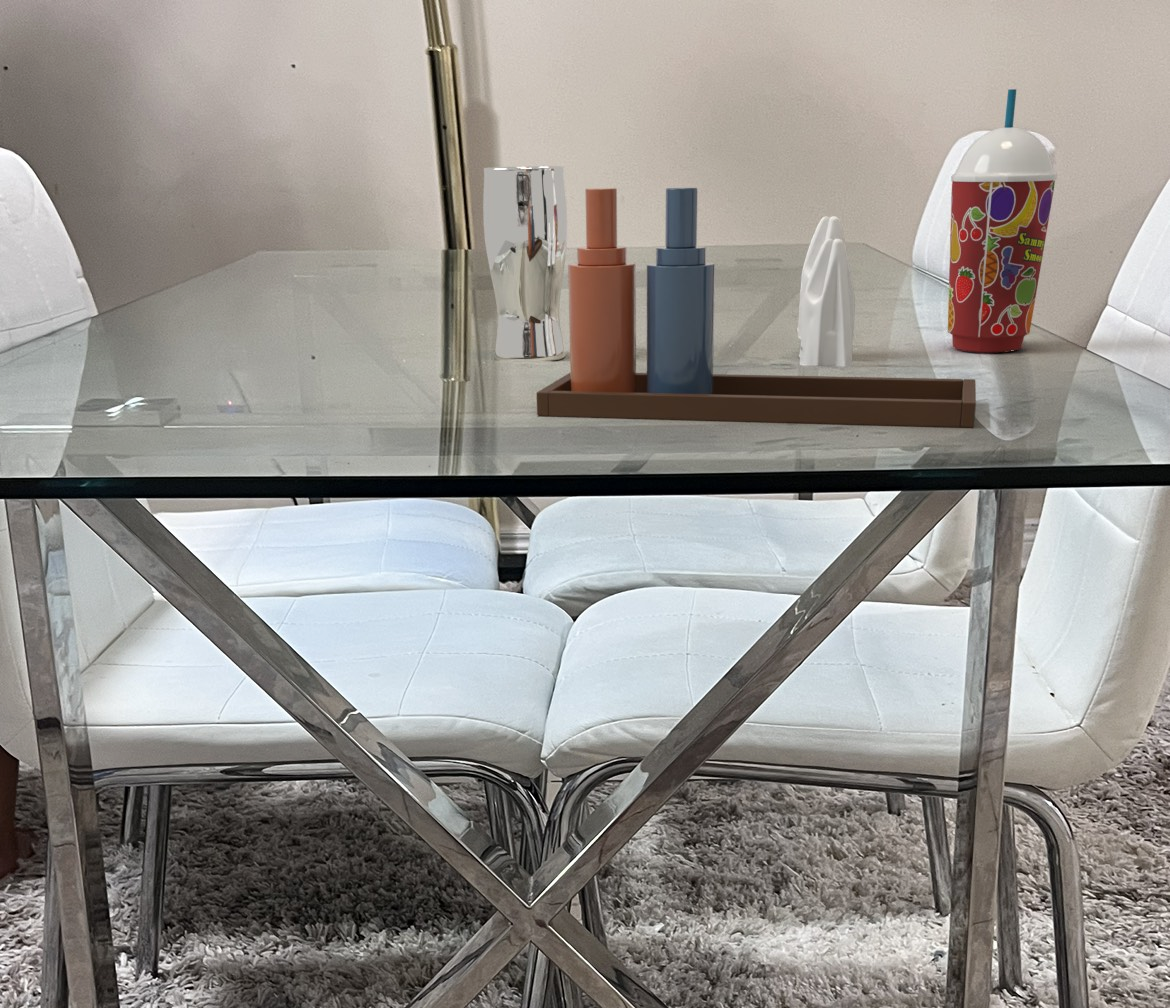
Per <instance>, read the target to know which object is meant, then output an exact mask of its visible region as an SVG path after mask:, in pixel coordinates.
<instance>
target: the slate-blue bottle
mask: <svg viewBox="0 0 1170 1008" xmlns="http://www.w3.org/2000/svg"><path fill="white" fill-rule="evenodd" d="M698 191H699V188H698V187H697V186H675V187H674V186H673V187H672V186H671V187H666V188H665V235H664V236H665V242H664V246H663V245H662V246H657V247H656V248H655V261H654V262H649V263H647V264H646V373H647V393H673V394H713V374H714V355H715V352H714V349H715V305H716V303H715V301H716V298H715V297H716V263H715V262H711V261H707V247H706V246H704V245H698V197H699V196H698Z"/></svg>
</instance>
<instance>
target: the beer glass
mask: <svg viewBox="0 0 1170 1008" xmlns="http://www.w3.org/2000/svg"><path fill="white" fill-rule="evenodd" d="M564 169H565V167H564V166H563V165H562V166H561V165H534V166H533V165H532V166H531V165H530V166H529V165H527V166H493V167H491V166H490V167H484V168H483V188H482V190H483V192H482V193H483V194H482V223H483V224H482V225H483V236H484V238H483V239H484V245H485V252H486V258H487V263H488V268H489V273H490V278H491V283H492V287H493V294H494V298H495V303H496V313H497V327H496V337H495V344H494V356H493V357H494V359H495V360H497V361H521V362H522V361H524V362H526V361H527V362H553V361H559V360H562V359H564V358H565V357H566V348H565V343H564V337H563V333H562V326H561V316H560V313H561V312H560V311H561V309H560V306H561V295H562V286H563V280H564V274H565V273H564V272H565V267H566V266H565V265H566V258H567V247H568V228H569V227H568V224H569V223H568V202H567V193H566V192H567V191H566V181H565V171H564Z"/></svg>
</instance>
